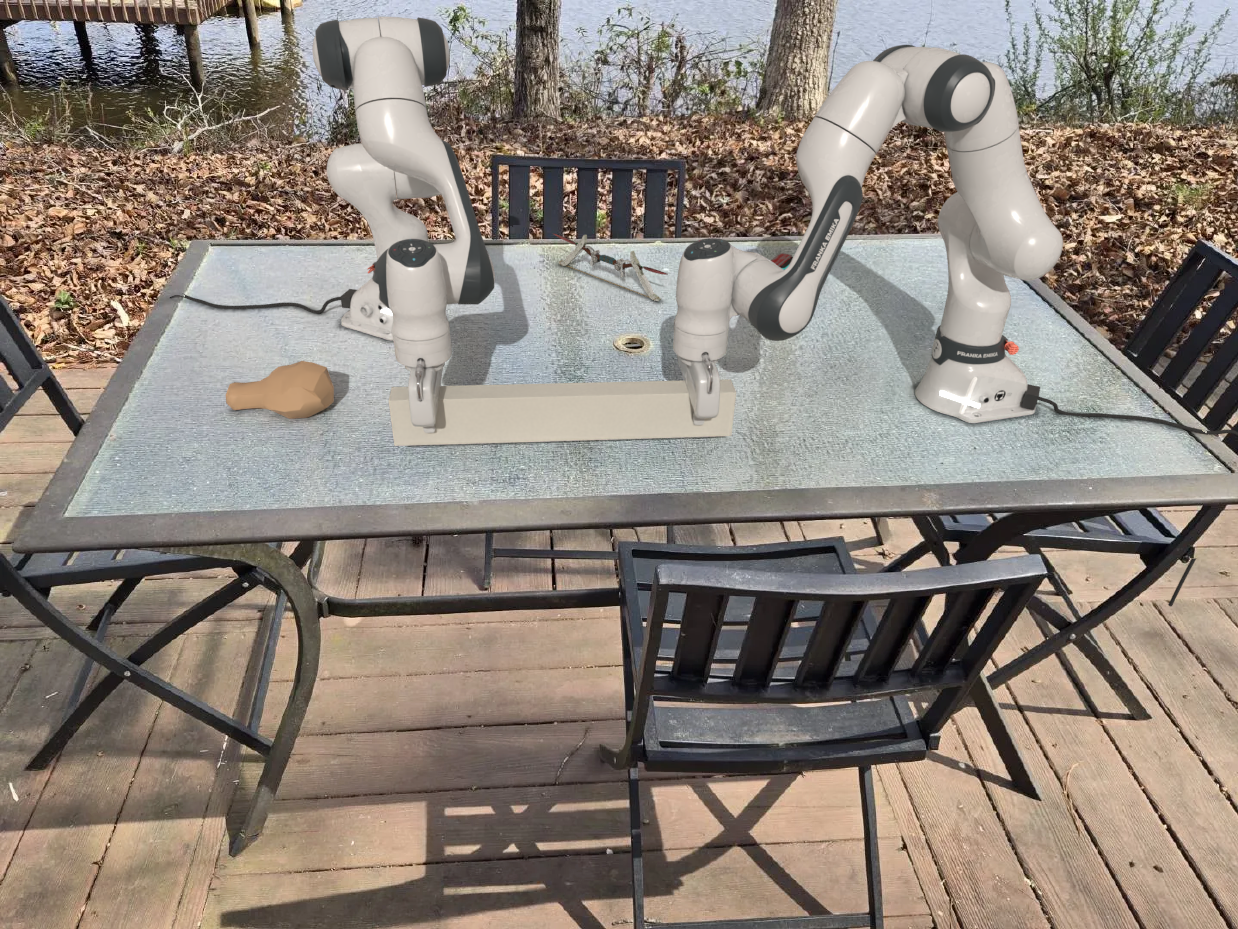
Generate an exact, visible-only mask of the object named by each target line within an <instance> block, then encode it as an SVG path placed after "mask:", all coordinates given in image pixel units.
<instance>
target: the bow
mask: <svg viewBox="0 0 1238 929" xmlns="http://www.w3.org/2000/svg"><path fill="white" fill-rule="evenodd" d="M552 235H554V236H556V237H557V238H559V239H561V240H563V241H565V242H567V243H569V244H572V245H575V247H574V249H573V250H572V251H571V252H570V253H569V254H568V255H567V256H566V258H565V260H559V261H557V263H558V265H560V266H562V267H568V268H570V269H573V270H574V271H575V270H576V271H577V272H581V273H582V274H585V275H589V276H591V277H594V278H597V279H598V280H602V281H604V282H607V283H609V284H612V285H615V286H617V287H620V288H623V289H626V290H628V291H631V292H633V293H636V294H638V295H641V296H644V297H647V298H649V299H651V300H652V301H654V302H659V301H662V298H661V297H660V296H659V295H657V294H656V293H655V292H654V290H653V287H652V284H651V283H650V281H649V280H648V278H647V276H646V274H645V272H644V271H643V269H644V270H646V271H648V272H650V273H654V274H658V275H663V276H664V275H666V276H667V275H669V273H668V272H664V271H661V270H659V269H656V268H653V267H648V266H643V265H641V263H640V261H639V259H638V257H637V256H636V252H635V250H631V251H630V253H629V259H624V258H623V257H621V258H619V259H616V258H615V257H613V256H610V255H606V254H600V252H601V251H600V249H596V250H595V249H594V248H593V247H592V246H590V245H587V243H588V235H587V234H583V235H582V237H581V239H580V240H579V241H578V242H575V241H574V240H572V239H570V238H567V237H566V236H563V235H560V234H557V233H552ZM583 251H584V252H585V253H586V254H587V255H588V256H589V257H590V261H589V266H590V267H594V266H596V264H598V263H600V262H603V263H606V264H608V265H611V266H613V267H614V270H615V271H616V272H619V273H620V278H625V277H627V274H626V272H627V271H626V269H629V268H632V269H633V270H634V272H635V273H636V276H637V278H638V280H639V282H640V285H642V288H643V289H644V291H645V293H646V294H643V293H641V292H638V291H635V290H633V289H630V288H627V287H624V286H622V285H620V284H617V283H614V282H611V281H609V280H606V279H603V278H601V277H598V276H596V275H594V274H591V273H588V272H585V271H583V270H580V269H577V268H575V267H572V266H569V265H570V264H572V263H573V262H574V261H575V259H576V258H577V257H578V256H579V255H580V254H581V253H582V252H583Z"/></svg>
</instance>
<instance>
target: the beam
mask: <svg viewBox="0 0 1238 929" xmlns="http://www.w3.org/2000/svg"><path fill="white" fill-rule="evenodd" d="M708 394H709V393H708ZM736 400H737V390H736V388H735V385H734V384H733V382H732V379H731V378H729V379H727V378H726V379H720V402H719V413H718V415H717V417H715V418H705V419H704V424H703V425H694V423H693V419H692V417H693V412H694V409H693V406H692V403H691V400H690V397H689V393H688V390H687V387H686V384H685V381H684V379H683V380H644V381H639V380H638V381H601V382H599V381H598V382H563V383H562V382H558V383H557V382H556V383H553V382H552V383H513V384H512V383H510V384H468V385H466V384H465V385H441V386H440V392H439V400H438V407H437V414H436V422H435V432H434V433H425V432H424V429H423V427H417V426H413V424H412V422H411V416H410V406H409V394H408V386H391V388H390V393H389V396H388V408H389V414H390V423H391V430H392V438H393V445H394V447H409V446H439V445H440V446H441V445H473V444H474V445H476V444H477V445H478V444H506V443H507V444H509V443H510V444H512V443H539V442H540V443H542V442H545V443H546V442H573V441H575V442H576V441H611V440H612V441H613V440H642V439H643V440H644V439H645V440H646V439H679V438H680V439H681V438H709V437H711V438H713V437H732V435H733V427H734V426H733V425H734V417H735V409H736ZM418 401H419V400H418Z"/></svg>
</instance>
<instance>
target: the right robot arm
mask: <svg viewBox="0 0 1238 929" xmlns="http://www.w3.org/2000/svg"><path fill="white" fill-rule="evenodd" d="M901 122H902V123H905V124H907V125H910V126H916V127H923V128H929V129H934V130H936V131H938V132H943V133H944V139H945V140H944V141H945V145H946V151H947V157H948V162H949V168H950V172H951V179H952V183H953V186H954V188H955V190H956V191H957V192H955V193H953V194H952V195H950V196H949V198H947V199H946V200H945V202H944V203H943V204H942V206H941V208H940V210H939V213H938V217H937V228H938V231H939V233H940V235H941V237H942V238H941V239H942V240H943V244H944V247H945V253H946V260H947V261H946V262H947V275H948V276H947V278H948V282H947V284H948V285H947V293H946V294H947V295H946V298H945V299H946V300H945V304H944V309H943V314H942V317H941V321H940V325H939V326H938V327H937V328H936V332H935V334H934V338H933V342H932V347H931V355H930V356H931V357H930V359H929V362H928V365H927V367H926V370H925V372H924V374H923V376H922V378H921V379H920V382H919V383H918V385H917V386H916V387H915V390H914V395H915V397H916V399H917V400H918V401H919V403H921V404H922V405H923V406H925V407H927V408H928V409H930V410H933V411H935V412H937V413H940V414H943V415H947V416H950V417H953V418H957V419H959V420H961V421H963V422H966V423H968V424H978V423H985V422H991V421H997V420H1005V419H1011V418H1019V417H1025V416H1031V415H1035V413H1036V409H1037V408H1036V406H1037V403H1038V401H1040V402H1042V403H1046V404H1049V405H1051V406H1052V407H1053V410H1054V412H1056V413H1057V414H1059V415H1063V416H1072V417H1073V416H1074V417H1082V418H1106V419H1107V418H1108V419H1122V420H1136V421H1145V422H1153V423H1157V424H1162V425H1166V426H1169V427H1174V428H1177V429H1181V430H1184V431H1187V432H1188V431H1189V432H1192V433H1197V434H1202V435H1208V434H1209V435H1211V436H1215V435H1224V434H1232V435H1234V436H1235V437H1236V438H1238V431H1237V430H1234V429H1219V430H1208V429H1207V430H1206V429H1205V430H1206V431H1207V434H1205V432H1203V431H1202V430H1203V429H1200V428H1196V427H1192V426H1188V425H1184V424H1182V423H1181V424H1180V423H1176V422H1173V421H1168V420H1165V419H1161V418H1155V417H1150V416H1141V415H1129V414H1116V413H1115V414H1113V413H1103V412H1101V413H1100V412H1095V413H1094V412H1086V413H1084V412H1083V413H1081V412H1068V411H1064V410H1061V409H1059V405H1058V404H1057V403H1056V402H1055V401H1053V400H1051V399H1049V398H1045V397H1042V396H1040V393H1041V392H1040V391H1041V386H1038V385H1034V384H1029V383H1028V379H1027V376H1026V374H1025V373H1024V371H1023V370H1022V369H1021V368H1020V367H1019V366H1018V365H1017V364H1016V363H1015V362H1014V361H1013V360H1012V359H1011V358H1010V357H1009V356H1008V355H1011V356H1014V355H1016V354H1017V353H1018V352H1019V351H1020V346H1018V345H1017V344H1016V343H1015V342H1014V341H1009V338H1007V337H1006V336H1005V335H1004V334H1003V333H1004V330H1005V326H1006V324H1007V319H1008V316H1009V313H1010V309H1011V306H1012V296H1011V292H1010V289H1009V287H1008V285H1007V282H1006V280H1005V277H1009V278H1013V279H1016V280H1021V281H1027V282H1028V281H1029V282H1030V281H1035V280H1038V279H1040V278H1043V276H1045V275H1046V274H1048V273H1050V272H1051V270H1052V269H1053V268H1054V267H1055V266H1056V265H1057V263H1058V261H1059V260H1060V257H1061V255H1062V252H1063V247H1064V239H1063V236H1062V233H1061V232H1060V230H1059V229H1058V228H1057V226H1055V224H1054V222H1052V221H1051V219H1050V218H1049V216H1048V214H1047V213H1046V211H1045V209H1044V207H1043V205H1042V203H1041V201H1040V199H1039V197H1038V195H1037V193H1036V191H1035V188H1034V186H1033V184H1032V180H1031V179H1030V177H1029V174H1028V170H1027V168H1026V164H1025V159H1024V153H1023V146H1022V140H1021V133H1020V126H1019V124H1020V123H1019V117H1018V111H1017V106H1016V102H1015V99H1014V94H1013V91H1012V88H1011V85H1010V82H1009V79H1008V77H1007V75H1006V72H1005V71H1004V70H1003V68H1002V67H1001V66H1000V65H998V64H996V63H995V62H991V61H980V60H979V59H977V58H975V57H974V56H972V55H969V54H965V53H963V54H961V53H958V52H956V51H953V50H950V49H945V48H941V47H937V46H936V47H928V46H915V45H912V44H900V45H894V46H891V47H889V48H886V49H884V50H882V52H880V53H879V54H878V55H877V56H875V58H873V60H863V61H860V62H858V63H856V64H854V65H853V66H852V67H851V68H849V69H848V71H847V72H846V74H845V75H844V76H843V77H842V78H841V79H840V80H839V82H838V83H837V84H836V85H835V86H834V87H833V89H832V91H831V92H830V93H829V95H828V96H827V97H826V99H824V101H823V103H822V104H821V106H820V107H819V109H818V111H817V112H816V114H815V115H814V117H813V119H812V120H811V122H810V124H809V125H808V126H807V128H806V130H805V132H804V134H803V135H802V137H801V140H800V141H799V144H798V148H797V150H796V155H795V160H796V168H797V169H796V170H797V172H798V175H799V178H800V180H801V182H802V184H803V186H804V187H805V189H806V190H807V192H808V194H809V197H810V200H811V201H810V202H811V205H812V206H811V208H812V212H811V217H810V221H809V223H808V226H807V227H806V231H805V232H804V234H803V236H802V238H801V239H800V240H801V241H800V242H799V243H798V246H797V248H796V251H795V252H794V254H793V256H792V257H793V259H792V261H791V263H790V264H789V266H788V267H787V268H786V269H785V270H784V269H782V268H780V267H779V266H777V265H776V264H775V263H774V262H772V261H770V260H771V259H769V258H767V257H766V256H764V255H762V254H761V253H758V252H755V251H750V250H749V251H747V250H742V249H739V248H737V247H735V246H734V245H732V244H731V243H730V242H729V241H727V240H726V239H722V238H715V237H713V238H711V237H709V238H702V239H699V240H696V241H694V242H692V243H690V244H689V245H688V246H686V248H685V249H684V250H683V253H682V255H681V258H680V261H679V265H678V271H677V279H676V289H675V301H676V305H677V311H676V314H675V317H674V319H673V323H672V324H673V325H672V327H673V337H672V338H673V340H672V341H673V342H672V350H673V352H674V353H675V354H676V359H677V364H678V368H679V370H680V373H681V376H682V379H683V380H684V381H685V384H686V387H687V390H688V393H689V397H690V400H691V403H692V406H693V409H694V412H693V417H692V419H693V423H694V425H703V424H704V419H705V418H715V417H717V415H718V413H719V402H720V380H721V377H720V373H719V370H718V367H717V365H716V364H718V362H719V360H720V359H722V358H723V357H725V355H726V354H727V352H728V344H729V333H730V332H729V331H730V321H731V319H732V318H733V317H737V316H740V317H742V318H743V319H744V320H746V321H747V322H748V323H750V325H751V326H752V327H753V328H754V329H755V330H756V331H757V333H759V334H760V335H761V336H762V337H763V338H764V339H766V340H769V341H773V342H782V341H786V340H789V339H791V338H794V337H796V336H797V335H799V334H800V333H801V332H803V331H804V330H805V329H806V328H807V327H808V326H809V324H810V322H811V321H812V319H813V317H814V315H815V311H816V309H817V306H818V302H819V298H820V295H821V292H822V290H823V287H824V285H825V283H826V281H827V279H828V276H829V275H830V272H831V271H832V268H833V266H834V264H835V263H836V260H837V258H838V256H839V254H840V252H841V250H842V249H843V246H844V244H845V242H846V240H847V238H848V236H849V234H850V231H851V229H852V227H853V225H854V223H855V221H856V219H857V216H858V215H859V211H860V209H861V205H862V202H863V196H864V194H863V192H864V191H863V184H864V181H865V178H866V175H867V172H868V170H869V168H870V167H871V165H872V162H873V161H874V159H875V157H876V155H877V154H878V152H879V151H880V149H881V148H882V146H883V144H884V142H886V139H887V137H888V135H889V133H890V131H891V130H893V128H894V127H895V126H897V124H899V123H901ZM1006 352H1007V353H1008V355H1007V354H1006ZM708 393H709V394H708ZM1209 435H1208V436H1209ZM1196 560H1197V558H1191V559H1190V560H1189V563H1188V564H1187V566H1186V569H1185V571H1184V572H1183V574H1182V576H1181V577H1180V580H1179V582H1178V584H1177V586H1176V588H1175V590H1174V592H1173V594H1172V596H1171V598H1170V600H1169V602H1168V604H1167V605H1168V606H1169V607H1173V606H1174V604H1175V601H1176V599H1177V597H1178V595H1179V593H1180V591H1181V589H1182V587H1183V585H1184V583H1185V581H1186V579H1187V577H1188V575H1189V573H1190V571H1191V570H1192V568H1193V566H1194V564H1195V562H1196Z"/></svg>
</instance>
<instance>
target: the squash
mask: <svg viewBox="0 0 1238 929" xmlns="http://www.w3.org/2000/svg"><path fill="white" fill-rule="evenodd" d="M334 398H335V386H334V384H333V381H332V378H331V374H330V372H329V369H328V367H327V366H324V365H321V364H318V363H315V362H312V361H307V360H306V361H305V360H300V361H297V362H295V363H291V364H286V365H281V366H277V367H276V368H275V369H274V370H272V371H271V372H270V373H269V375H268V376H266V377H264V378H263V379H261V380H256V381H248V382H241V381H240V382H237V381H236V382H235V381H234V382H232V383H229V384H228V387H227V390H226V393H225V404H227V405H228V406H229V408H231V409H232V411H239V410H245V409H246V410H248V409H249V410H250V409H263V410H269V411H271V412H274V413H275V414H278V415H280V416H282V417H285V418H287V419H288V420H292V419H308V418H310V417H312V416H314V415H316V414H318V413H320V412H322V411H324V410H326V409H328V408H329V407H330V406H331V405H332V404H334V402H335V400H334Z"/></svg>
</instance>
